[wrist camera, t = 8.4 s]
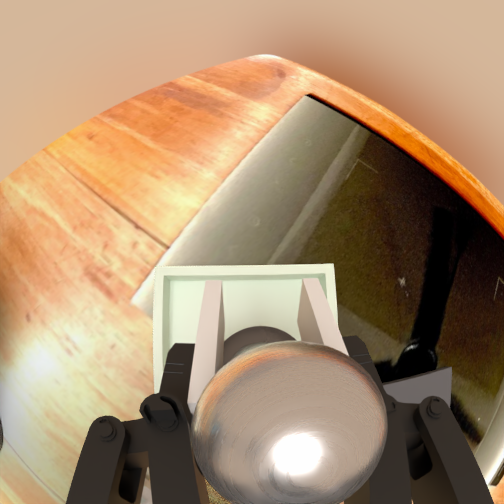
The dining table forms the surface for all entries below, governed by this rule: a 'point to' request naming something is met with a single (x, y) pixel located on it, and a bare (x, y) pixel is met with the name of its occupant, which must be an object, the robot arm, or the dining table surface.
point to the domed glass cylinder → (287, 422)
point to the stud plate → (422, 386)
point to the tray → (230, 301)
